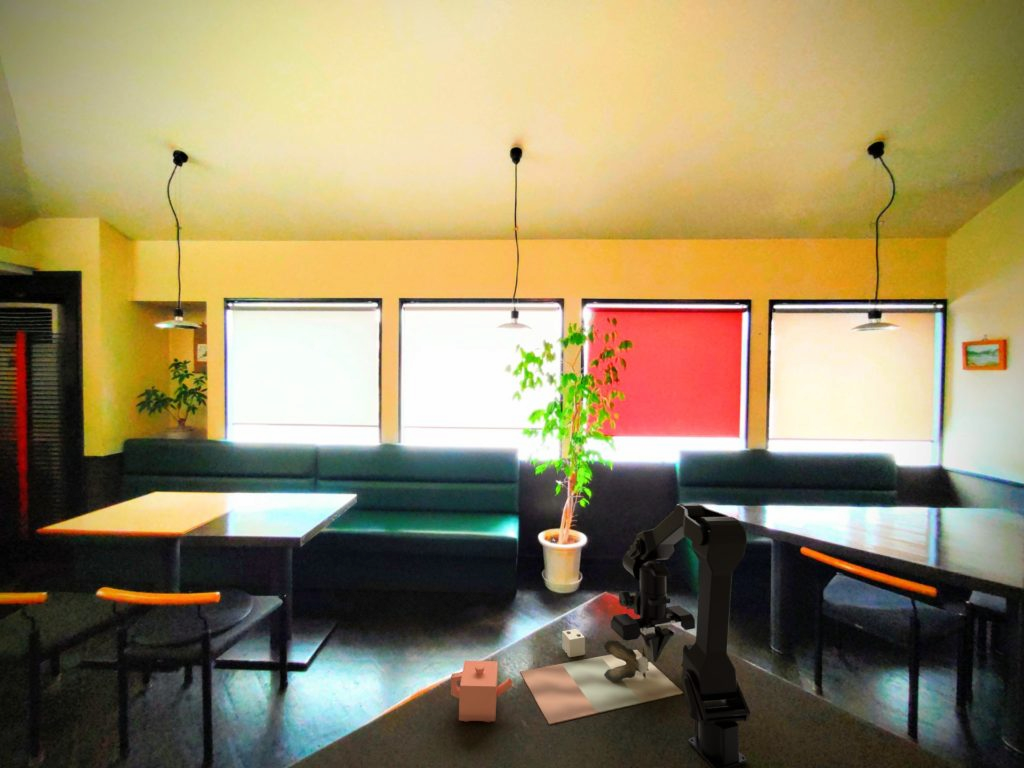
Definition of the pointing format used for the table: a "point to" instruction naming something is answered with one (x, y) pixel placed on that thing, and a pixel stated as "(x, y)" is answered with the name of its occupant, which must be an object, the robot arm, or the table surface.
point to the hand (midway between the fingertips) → (653, 661)
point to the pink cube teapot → (478, 690)
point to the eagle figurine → (627, 656)
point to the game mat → (593, 688)
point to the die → (573, 642)
